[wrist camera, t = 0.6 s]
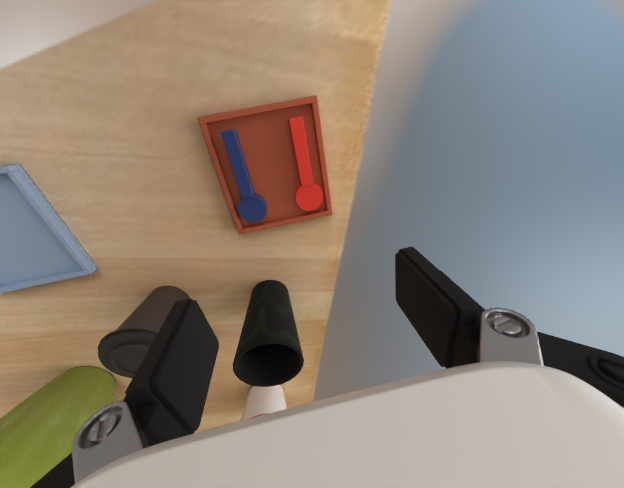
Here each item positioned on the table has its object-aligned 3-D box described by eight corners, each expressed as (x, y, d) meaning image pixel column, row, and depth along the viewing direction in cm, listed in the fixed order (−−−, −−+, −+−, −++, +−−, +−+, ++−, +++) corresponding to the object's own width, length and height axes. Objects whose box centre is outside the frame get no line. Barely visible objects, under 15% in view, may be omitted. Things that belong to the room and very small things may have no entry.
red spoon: (278, 120, 25) (279, 120, 24) (309, 114, 25) (312, 114, 24) (297, 210, 30) (298, 214, 29) (323, 204, 30) (325, 208, 29)
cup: (278, 319, 39) (281, 392, 28) (235, 303, 36) (220, 378, 25) (304, 286, 36) (316, 353, 26) (260, 266, 33) (254, 333, 23)
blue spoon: (213, 133, 25) (210, 133, 23) (245, 127, 25) (243, 127, 23) (243, 221, 30) (242, 226, 28) (269, 215, 30) (269, 220, 28)
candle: (285, 373, 46) (286, 408, 40) (290, 399, 50) (292, 434, 44) (238, 382, 45) (233, 419, 39) (248, 407, 49) (245, 444, 44)
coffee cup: (207, 287, 34) (184, 345, 25) (192, 326, 37) (167, 390, 28) (144, 270, 31) (94, 329, 22) (134, 313, 34) (86, 380, 25)
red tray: (200, 117, 24) (196, 117, 23) (315, 96, 25) (317, 95, 24) (240, 230, 31) (239, 234, 29) (330, 211, 31) (332, 214, 30)
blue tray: (-109, 187, 23) (-128, 191, 22) (19, 163, 24) (7, 165, 23) (-1, 289, 29) (-11, 296, 28) (98, 268, 30) (91, 273, 29)
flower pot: (35, 402, 39) (-94, 557, 26) (26, 343, 34) (-147, 501, 20) (136, 408, 44) (72, 542, 30) (143, 356, 38) (69, 492, 24)
